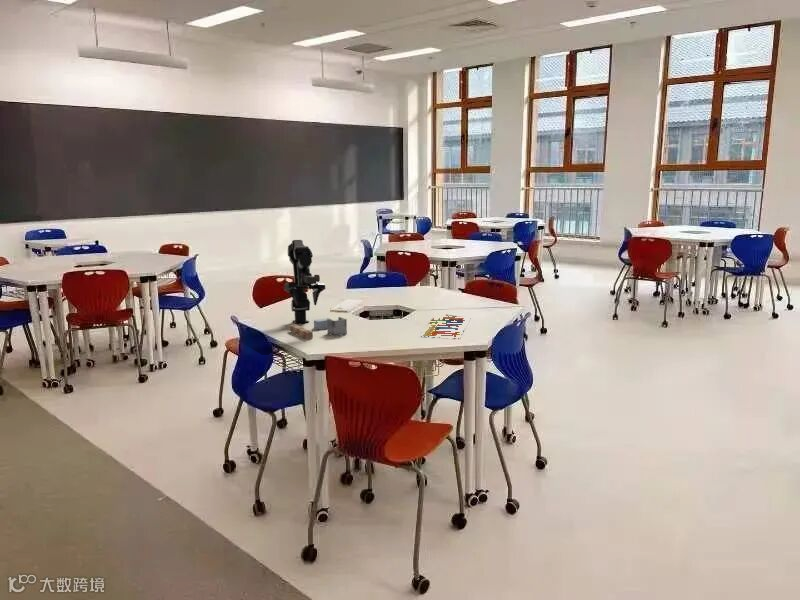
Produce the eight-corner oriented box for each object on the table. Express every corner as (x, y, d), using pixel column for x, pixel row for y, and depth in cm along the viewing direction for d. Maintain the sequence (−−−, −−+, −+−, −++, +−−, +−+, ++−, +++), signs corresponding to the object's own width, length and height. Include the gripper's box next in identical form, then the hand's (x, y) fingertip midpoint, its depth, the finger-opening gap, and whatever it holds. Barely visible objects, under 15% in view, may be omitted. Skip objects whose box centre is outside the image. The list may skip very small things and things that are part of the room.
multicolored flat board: (435, 312, 318) (471, 314, 314) (435, 316, 319) (471, 318, 314) (418, 332, 275) (460, 335, 271) (418, 337, 276) (459, 340, 271)
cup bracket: (327, 333, 282) (327, 318, 281) (340, 331, 286) (340, 317, 284) (333, 336, 277) (333, 321, 276) (346, 333, 281) (346, 319, 280)
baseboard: (366, 302, 356) (346, 301, 359) (366, 297, 356) (346, 297, 358) (351, 313, 327) (330, 312, 329) (351, 308, 326) (330, 307, 329)
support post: (314, 328, 292) (313, 320, 291) (328, 325, 297) (328, 317, 296) (317, 329, 289) (317, 321, 288) (332, 327, 293) (332, 319, 293)
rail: (290, 332, 286) (289, 325, 285) (295, 331, 287) (295, 324, 287) (306, 340, 271) (306, 332, 270) (312, 339, 273) (312, 331, 272)
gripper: (292, 266, 268) (295, 300, 265) (329, 268, 279) (332, 301, 276) (282, 273, 277) (285, 306, 274) (318, 275, 288) (321, 306, 285)
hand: (306, 305), depth 277 cm, fingers open, 9 cm apart
